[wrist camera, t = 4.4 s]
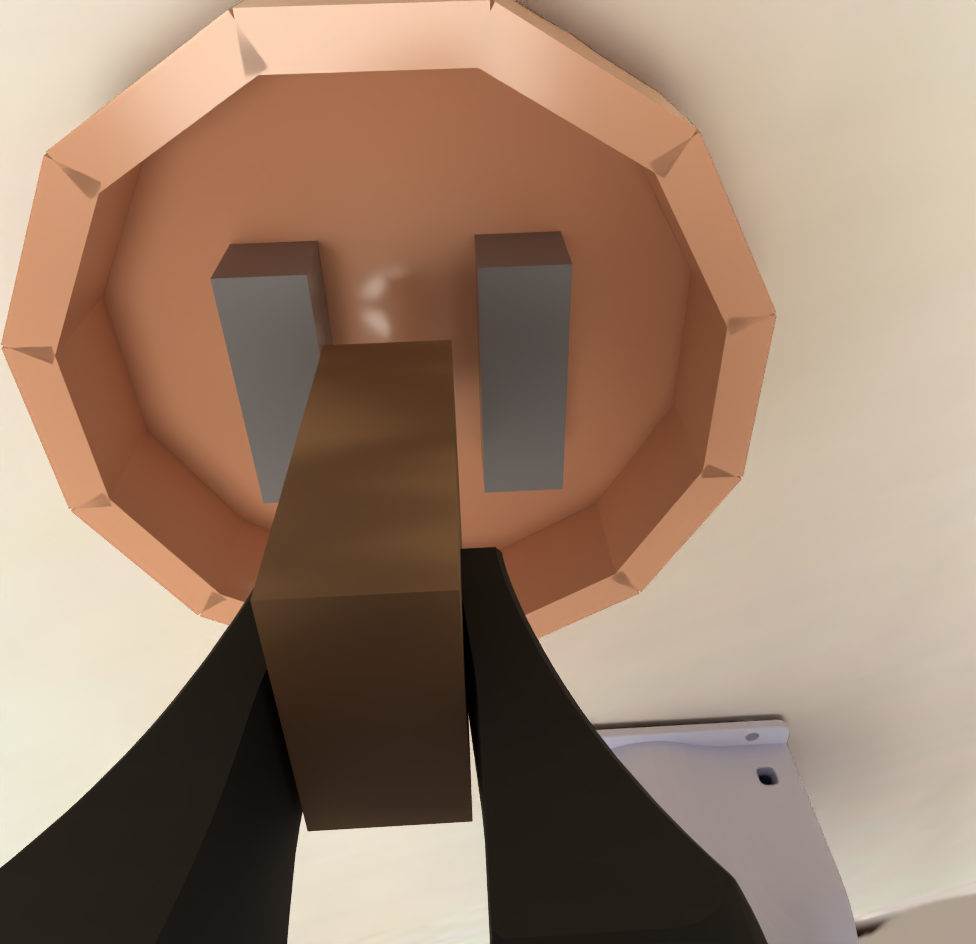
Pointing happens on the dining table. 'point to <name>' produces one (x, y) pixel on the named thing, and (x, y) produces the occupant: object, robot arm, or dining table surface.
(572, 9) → the dining table surface
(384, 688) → the brown rectangular block
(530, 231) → the faceted copper bowl
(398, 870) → the dining table surface
